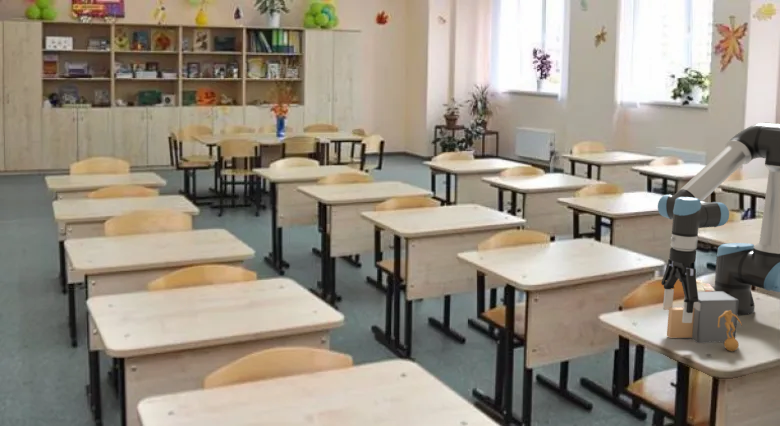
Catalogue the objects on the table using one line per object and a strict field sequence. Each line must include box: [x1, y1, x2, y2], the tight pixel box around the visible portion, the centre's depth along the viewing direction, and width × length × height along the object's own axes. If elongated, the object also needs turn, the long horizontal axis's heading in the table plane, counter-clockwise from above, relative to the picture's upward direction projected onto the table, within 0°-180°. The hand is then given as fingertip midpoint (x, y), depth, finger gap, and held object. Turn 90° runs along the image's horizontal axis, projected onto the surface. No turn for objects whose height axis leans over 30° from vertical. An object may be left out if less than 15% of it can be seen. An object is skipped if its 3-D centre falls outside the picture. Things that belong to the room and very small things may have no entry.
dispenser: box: [683, 291, 739, 344], centre depth 262 cm, size 12×10×13 cm
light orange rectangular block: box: [666, 306, 695, 339], centre depth 261 cm, size 14×2×9 cm, turn 96°
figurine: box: [718, 310, 743, 352], centre depth 250 cm, size 8×6×12 cm
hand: (676, 315), depth 260 cm, fingers open, 13 cm apart
